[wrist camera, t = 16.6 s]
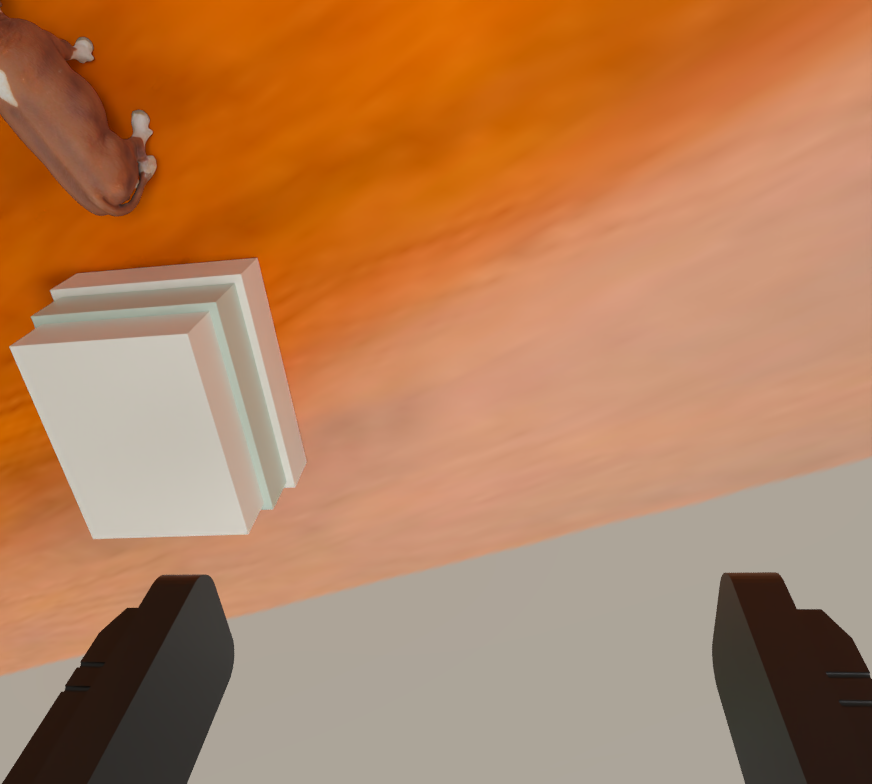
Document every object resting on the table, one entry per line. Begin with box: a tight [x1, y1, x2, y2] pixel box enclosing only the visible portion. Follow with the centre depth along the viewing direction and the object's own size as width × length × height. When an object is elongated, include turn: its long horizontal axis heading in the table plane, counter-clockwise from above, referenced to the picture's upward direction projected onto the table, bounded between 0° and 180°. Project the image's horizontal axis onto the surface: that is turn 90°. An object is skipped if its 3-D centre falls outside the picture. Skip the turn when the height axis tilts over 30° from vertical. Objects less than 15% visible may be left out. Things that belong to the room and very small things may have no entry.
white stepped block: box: [9, 258, 307, 539], centre depth 44 cm, size 15×12×9 cm
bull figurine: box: [0, 2, 157, 216], centre depth 36 cm, size 4×13×8 cm, turn 26°
